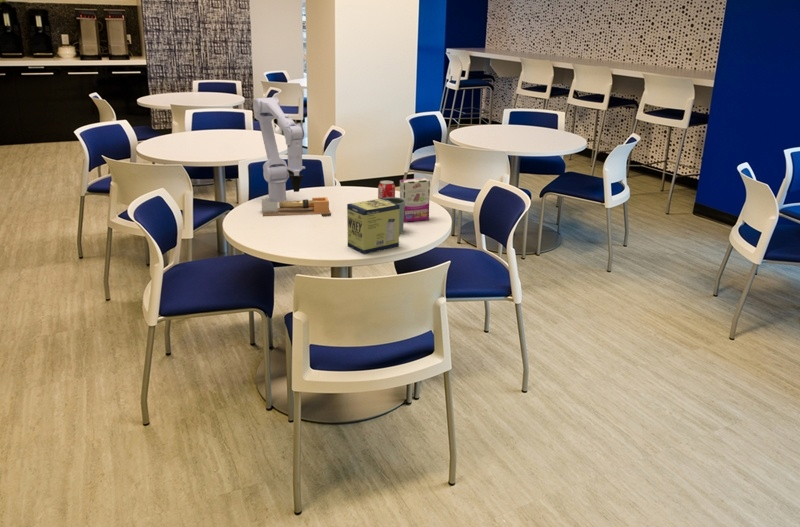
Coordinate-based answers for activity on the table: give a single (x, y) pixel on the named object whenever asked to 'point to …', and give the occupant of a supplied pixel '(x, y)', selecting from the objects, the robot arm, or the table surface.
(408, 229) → the table surface
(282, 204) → the inner tube
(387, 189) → the soda can
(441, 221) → the table surface
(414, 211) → the candy bar box
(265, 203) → the outer sleeve
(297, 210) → the base board
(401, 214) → the grey cup
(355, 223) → the protein box
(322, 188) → the table surface
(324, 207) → the socket block
